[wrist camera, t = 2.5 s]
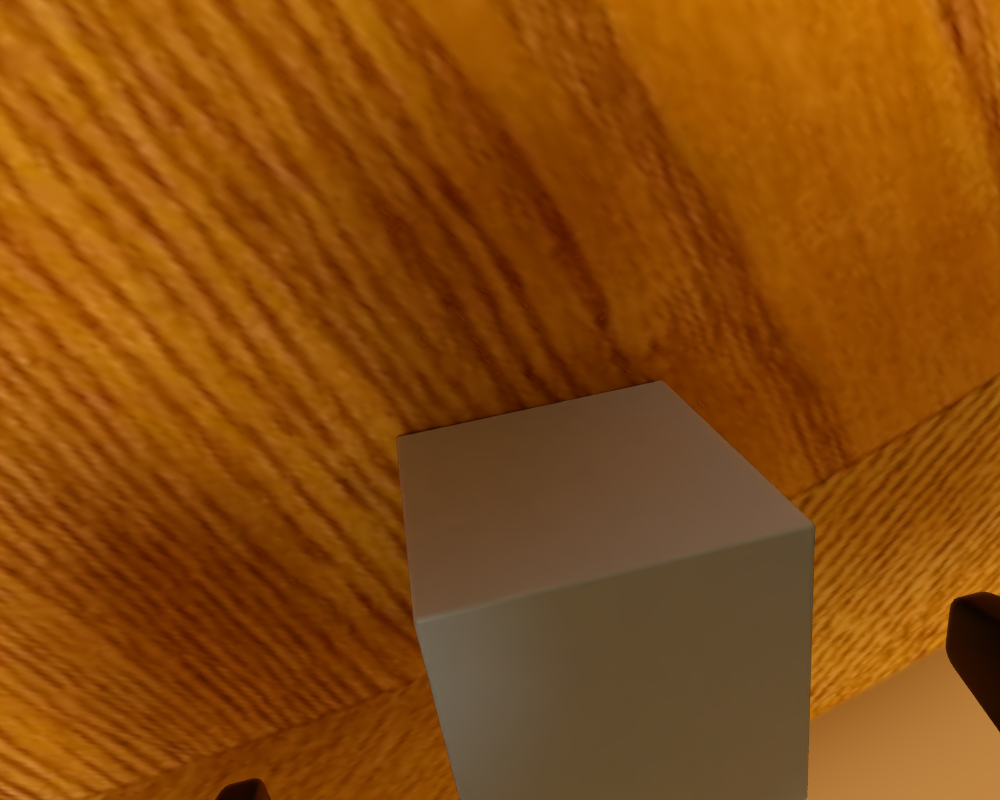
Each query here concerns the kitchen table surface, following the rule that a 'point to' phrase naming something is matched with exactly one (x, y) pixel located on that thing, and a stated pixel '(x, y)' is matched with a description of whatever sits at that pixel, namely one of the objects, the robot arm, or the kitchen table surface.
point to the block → (609, 604)
